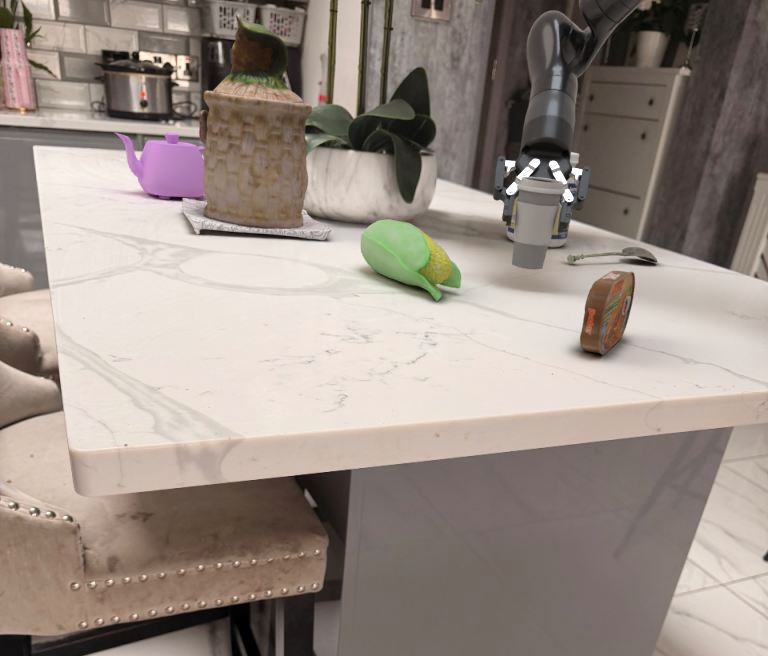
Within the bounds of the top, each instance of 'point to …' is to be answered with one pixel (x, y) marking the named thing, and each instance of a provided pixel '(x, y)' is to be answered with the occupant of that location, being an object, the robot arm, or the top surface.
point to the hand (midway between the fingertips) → (534, 225)
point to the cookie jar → (254, 146)
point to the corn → (408, 256)
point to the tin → (607, 311)
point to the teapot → (168, 167)
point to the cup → (535, 220)
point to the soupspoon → (618, 254)
